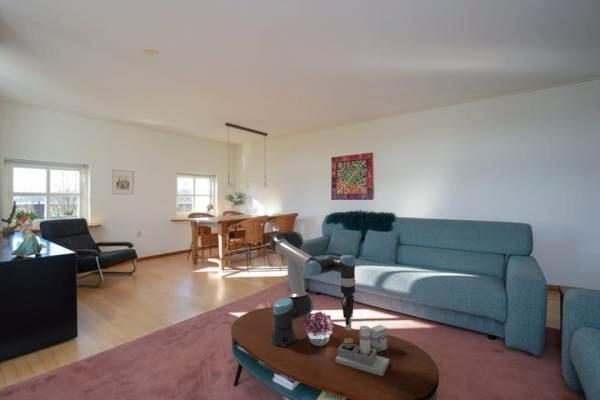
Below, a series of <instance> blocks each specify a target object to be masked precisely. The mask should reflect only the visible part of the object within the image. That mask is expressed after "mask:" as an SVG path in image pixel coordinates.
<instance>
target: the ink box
mask: <svg viewBox="0 0 600 400" xmlns="http://www.w3.org/2000/svg"><path fill="white" fill-rule="evenodd" d="M370 348H371V349H375V350H376V353H380V352H382V351H385V350H387V349H388V328H387V327H385V326H384V325H382V324H378V325H375V326H373V327H371V328H370Z"/></svg>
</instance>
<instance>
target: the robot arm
mask: <svg viewBox="0 0 600 400" xmlns="http://www.w3.org/2000/svg"><path fill="white" fill-rule="evenodd" d="M269 244H270V248H271V250H272V251H274V252H275V253H277V254H278V255H283V256H284V257H286V262H287V271H288V276H289V285H290V292H291V294H290V295H289V298H288V297H286V298H280V299H278V300H276V301H275V302H274V303H273V310H272V311H273V329H272V333H271V335H270V342H271V341H272V343H274V344H276V345H281V346H280V347H285V346H284V345H289V346H291V345H290V344H292V345H294V344H295V343H296V342H297V335H296V332H295V329H294V321H295V320H297V319H301V318H304V317H306V316H308V315H310V314H311V313H312V311H313V309H314V302H313V299H312V297H311V296H310V295H309V294H308V292H307V291H306V290H305V289H306V288H305V283H304V276H303V275H304V274H303V270H302V267H303V268H304V269H305V273H306V274H307V275H308V276H311V277H314V276H319V275H323V274H327V273H331V272H336V273H340V292H341V294H343V298H342V299H343V300H341V306H342V307H341V308H342V315H343V318H344V319H345V321H344V322H345V331H349V332H351V331H352V318H353V317H354V305H355V304H354V303H355V302H354V301H355V295H354V294H356V281H357V279H356V273H355V271H356V261H355V257H354V255H350V254H343V255H341V256H340V257H335V256H332V255H331V256H327V255H326V256H325V257H324V258H321V259H318V258H316V257H314V256H312V255H311V254H308V253H307V252H305V251H303V250H302V247H303V246H304V238H303V235H302V234H301V232H299V231H296V230H289V231H279V232H276V233H274V234H273V235H272V236H271V238H270V240H269ZM295 341H296V342H295ZM294 342H295V343H294ZM272 343H271V344H272ZM293 343H294V344H293ZM274 344H273V345H274ZM276 345H275V346H276ZM282 345H283V346H282Z"/></svg>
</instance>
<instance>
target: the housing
mask: <svg viewBox="0 0 600 400" xmlns="http://www.w3.org/2000/svg"><path fill="white" fill-rule="evenodd" d="M335 363H338V364H341V365H344V366H347V367H350V368H354V369H357V370H360V371H364V372H367V373H370V374H373V375H377V376H381V377H383V376H384V374H385V373H386V370H387V369H388V366H389V364H390V358H386V357H383V356H379V355H377V352H376V350H375V349H371V347H370V356H366V355H363V354H360V345H358V344H355V343H353V350H352V351H350V350H346V349H344V341H343V342H342V343H341V344H340V346H338V348H337V356H336V357H335Z"/></svg>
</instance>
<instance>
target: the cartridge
mask: <svg viewBox="0 0 600 400" xmlns="http://www.w3.org/2000/svg"><path fill="white" fill-rule="evenodd" d="M359 346H360V354H363V355H366V356H370V348H371V328H370V326H368V325H367V326H366V325H361V326H359Z"/></svg>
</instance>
